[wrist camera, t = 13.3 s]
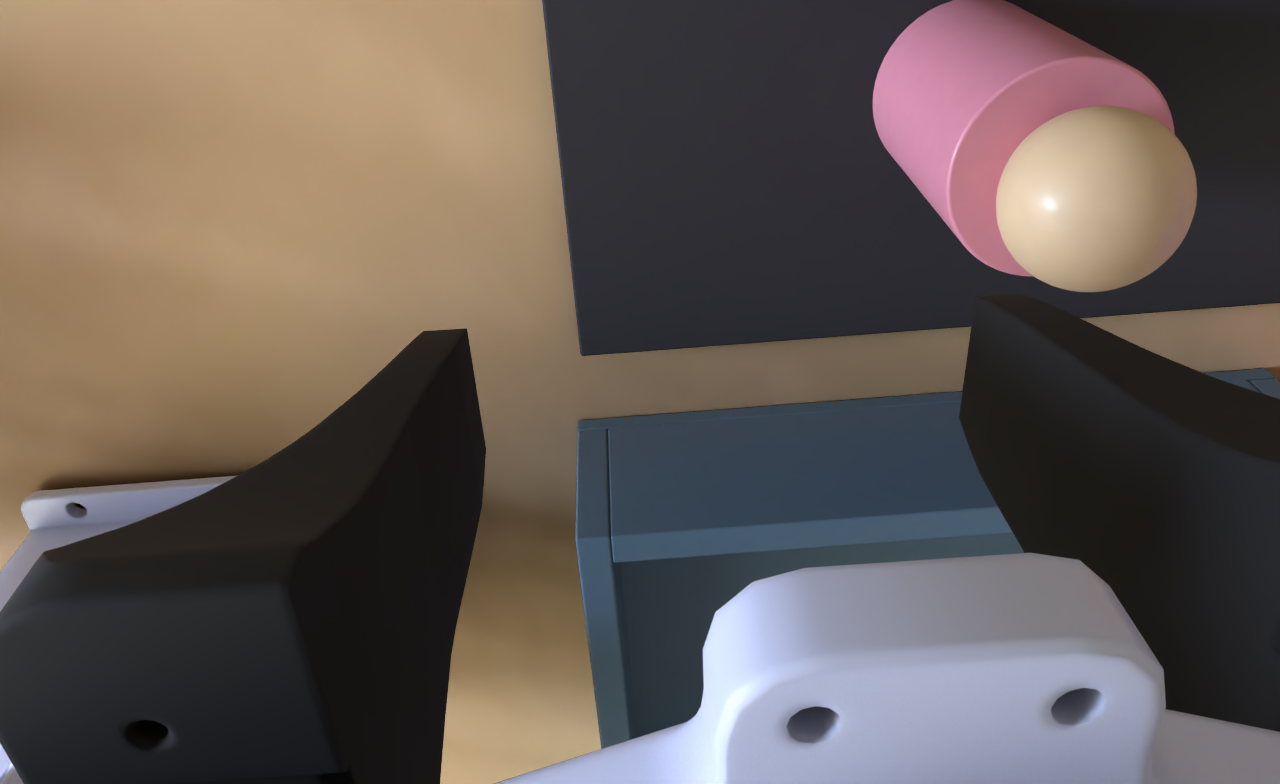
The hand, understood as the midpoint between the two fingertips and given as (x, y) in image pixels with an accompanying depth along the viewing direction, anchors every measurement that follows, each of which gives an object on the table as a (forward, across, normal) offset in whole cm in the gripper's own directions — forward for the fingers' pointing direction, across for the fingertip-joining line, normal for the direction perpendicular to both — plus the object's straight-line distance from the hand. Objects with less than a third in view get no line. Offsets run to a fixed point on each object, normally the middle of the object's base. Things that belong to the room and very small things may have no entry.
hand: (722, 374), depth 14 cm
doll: (+10, -6, -1) cm, 12 cm away
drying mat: (+10, -6, -1) cm, 12 cm away
